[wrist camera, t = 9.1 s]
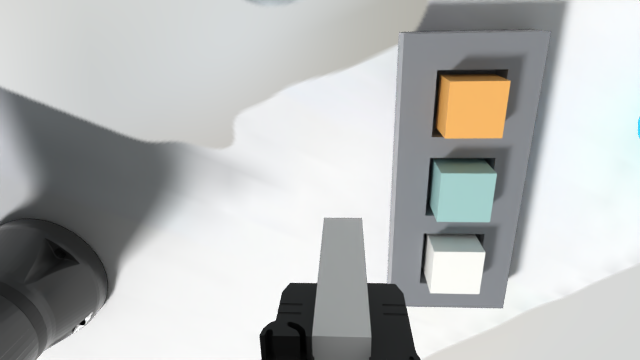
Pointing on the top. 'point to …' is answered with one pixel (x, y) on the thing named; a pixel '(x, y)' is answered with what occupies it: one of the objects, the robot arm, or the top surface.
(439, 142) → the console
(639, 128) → the mug
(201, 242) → the top surface
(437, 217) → the button teal
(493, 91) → the button orange
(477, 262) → the button white
